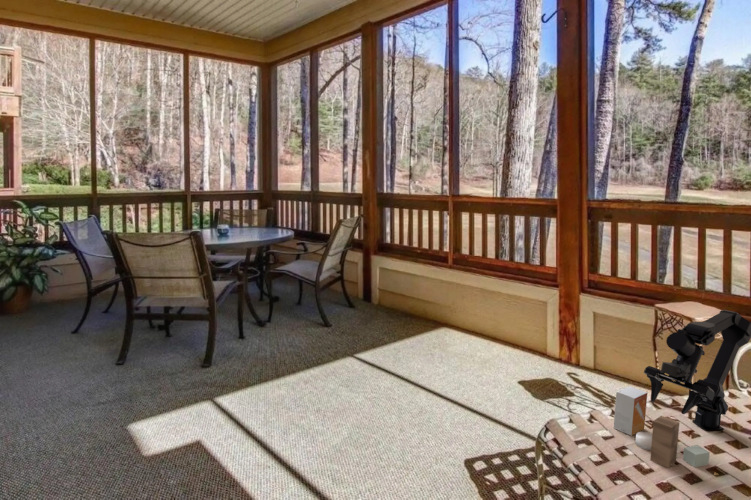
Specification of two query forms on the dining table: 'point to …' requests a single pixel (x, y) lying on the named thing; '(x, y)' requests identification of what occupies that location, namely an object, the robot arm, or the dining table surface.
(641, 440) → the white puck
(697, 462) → the sage block
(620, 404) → the small box
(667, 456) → the walnut block
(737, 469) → the dining table surface
